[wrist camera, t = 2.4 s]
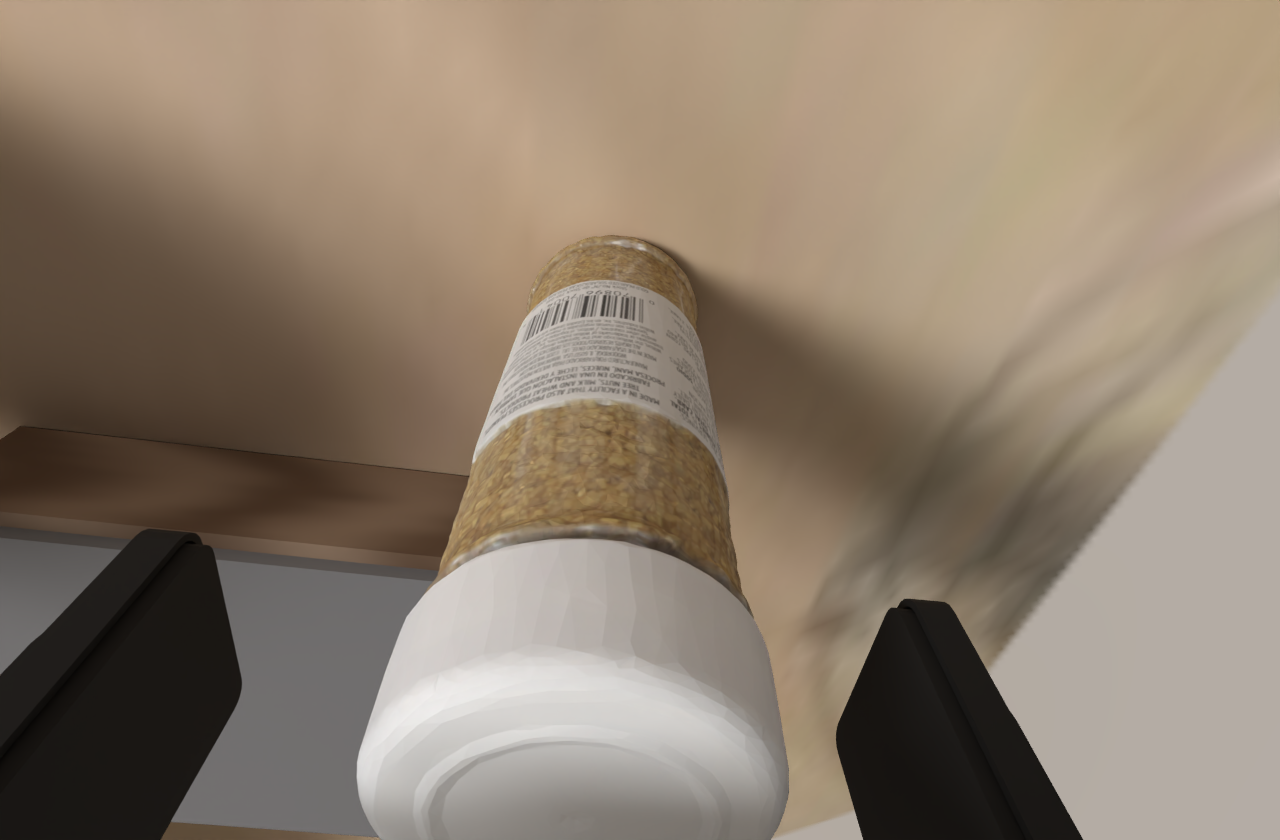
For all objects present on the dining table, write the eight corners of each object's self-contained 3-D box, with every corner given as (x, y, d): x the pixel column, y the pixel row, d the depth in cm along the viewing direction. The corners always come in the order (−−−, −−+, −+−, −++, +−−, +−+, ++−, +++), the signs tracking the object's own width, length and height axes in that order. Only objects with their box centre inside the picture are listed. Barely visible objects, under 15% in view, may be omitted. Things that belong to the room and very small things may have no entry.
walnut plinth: (495, 479, 21) (468, 570, 18) (485, 749, 29) (464, 850, 25) (19, 426, 20) (-106, 512, 17) (134, 719, 28) (62, 820, 24)
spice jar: (528, 380, 20) (368, 924, 8) (530, 219, 17) (305, 666, 6) (688, 393, 20) (754, 941, 8) (712, 236, 17) (849, 700, 6)
